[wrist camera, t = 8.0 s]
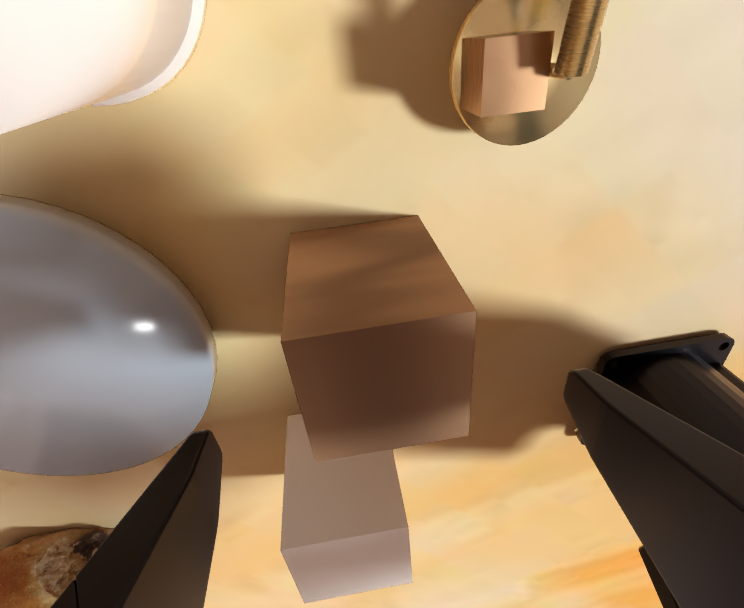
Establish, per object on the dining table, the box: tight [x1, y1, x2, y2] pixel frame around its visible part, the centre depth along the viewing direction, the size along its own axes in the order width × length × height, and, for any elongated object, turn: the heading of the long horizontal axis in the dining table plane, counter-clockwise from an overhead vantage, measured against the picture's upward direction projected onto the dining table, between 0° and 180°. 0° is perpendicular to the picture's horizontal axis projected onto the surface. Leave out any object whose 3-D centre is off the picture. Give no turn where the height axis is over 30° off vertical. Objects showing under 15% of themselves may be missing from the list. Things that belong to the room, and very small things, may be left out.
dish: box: [0, 195, 217, 476], centre depth 15 cm, size 12×12×1 cm
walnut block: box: [281, 215, 476, 463], centre depth 13 cm, size 4×4×6 cm
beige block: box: [281, 414, 412, 603], centre depth 18 cm, size 4×4×6 cm
